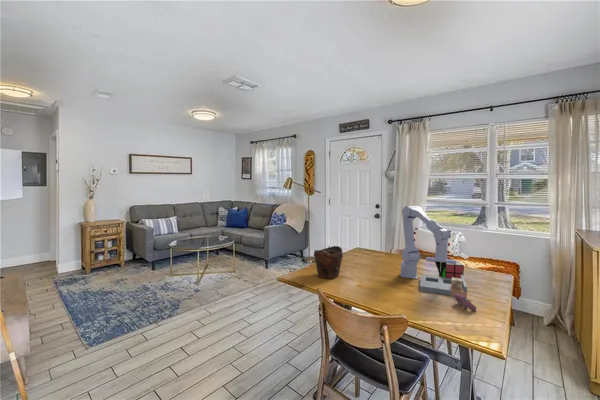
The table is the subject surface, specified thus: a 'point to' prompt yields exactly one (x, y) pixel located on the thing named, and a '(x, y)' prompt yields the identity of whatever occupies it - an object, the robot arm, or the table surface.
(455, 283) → the maple block
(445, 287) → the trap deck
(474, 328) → the table surface
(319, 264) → the dark brown bucket
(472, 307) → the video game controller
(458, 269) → the puzzle cube
